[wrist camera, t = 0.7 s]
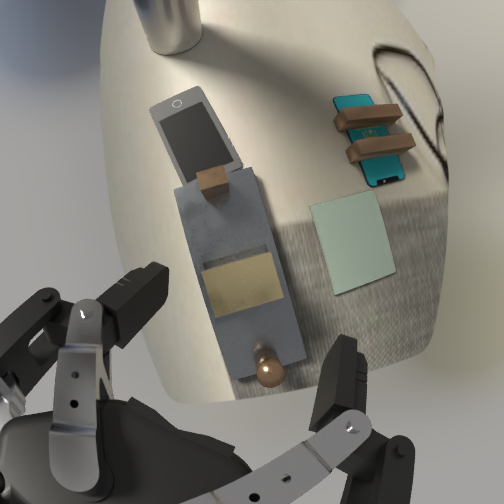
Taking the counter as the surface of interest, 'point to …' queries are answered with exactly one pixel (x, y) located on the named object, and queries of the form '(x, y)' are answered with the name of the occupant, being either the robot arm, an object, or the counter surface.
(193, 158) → the smartphone
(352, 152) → the phone stand
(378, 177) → the smartphone
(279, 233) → the counter surface
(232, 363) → the grey slotted base
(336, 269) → the pad
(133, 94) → the counter surface
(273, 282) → the brushed brass block
